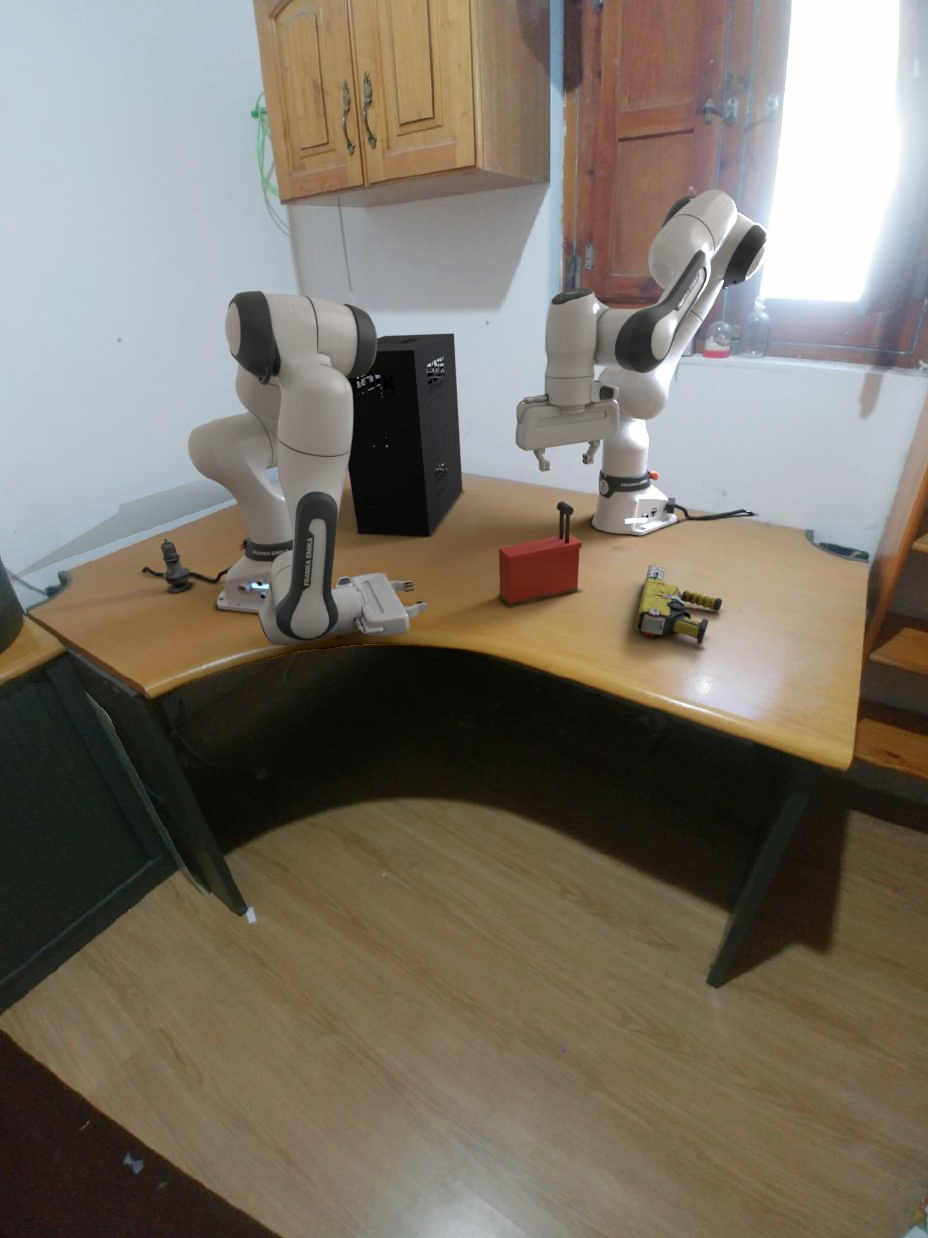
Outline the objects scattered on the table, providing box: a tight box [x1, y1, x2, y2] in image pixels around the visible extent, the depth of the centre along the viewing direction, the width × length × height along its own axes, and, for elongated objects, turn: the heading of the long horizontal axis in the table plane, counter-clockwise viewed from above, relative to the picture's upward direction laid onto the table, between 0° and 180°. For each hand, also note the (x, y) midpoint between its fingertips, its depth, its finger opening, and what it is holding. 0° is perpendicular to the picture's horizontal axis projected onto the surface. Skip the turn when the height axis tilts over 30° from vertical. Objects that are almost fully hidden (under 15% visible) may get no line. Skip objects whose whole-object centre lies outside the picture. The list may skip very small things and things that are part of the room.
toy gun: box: [635, 564, 723, 645], centre depth 117 cm, size 5×24×15 cm
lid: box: [498, 501, 583, 562], centre depth 121 cm, size 16×5×9 cm, turn 110°
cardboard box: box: [347, 332, 463, 537], centre depth 165 cm, size 38×20×45 cm, turn 167°
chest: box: [498, 548, 580, 608], centre depth 125 cm, size 16×5×10 cm, turn 110°
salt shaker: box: [160, 538, 194, 593], centre depth 136 cm, size 6×6×12 cm
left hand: (419, 595), depth 118 cm, fingers open, 8 cm apart
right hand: (566, 466), depth 116 cm, fingers open, 8 cm apart
